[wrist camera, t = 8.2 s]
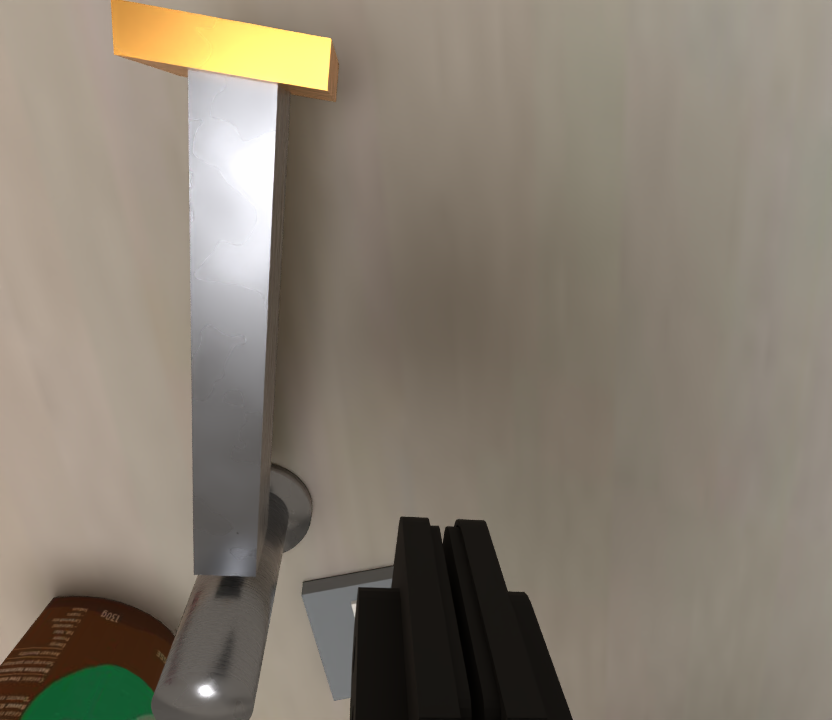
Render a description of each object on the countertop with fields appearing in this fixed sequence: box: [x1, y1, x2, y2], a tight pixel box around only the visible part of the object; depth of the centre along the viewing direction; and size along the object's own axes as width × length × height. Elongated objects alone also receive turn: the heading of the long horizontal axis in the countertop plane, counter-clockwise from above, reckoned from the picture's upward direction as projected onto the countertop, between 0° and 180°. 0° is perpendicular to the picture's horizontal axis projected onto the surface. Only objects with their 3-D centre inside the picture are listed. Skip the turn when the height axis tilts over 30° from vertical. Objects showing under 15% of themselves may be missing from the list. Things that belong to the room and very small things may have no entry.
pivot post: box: [151, 464, 312, 720], centre depth 21 cm, size 5×5×10 cm
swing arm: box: [111, 0, 339, 577], centre depth 16 cm, size 16×4×4 cm, turn 172°
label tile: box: [302, 566, 394, 701], centre depth 28 cm, size 8×6×1 cm
